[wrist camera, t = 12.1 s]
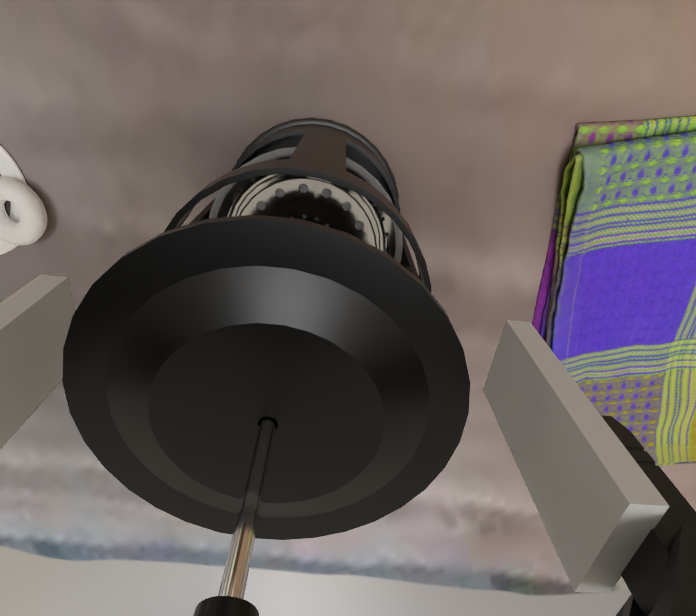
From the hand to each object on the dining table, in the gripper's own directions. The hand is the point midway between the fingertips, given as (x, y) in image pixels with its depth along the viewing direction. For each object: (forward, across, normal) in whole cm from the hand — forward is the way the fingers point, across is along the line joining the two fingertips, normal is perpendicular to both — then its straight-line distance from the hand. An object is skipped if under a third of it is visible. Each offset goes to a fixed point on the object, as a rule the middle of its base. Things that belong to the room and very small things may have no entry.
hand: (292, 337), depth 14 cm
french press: (+13, 0, 0) cm, 13 cm away
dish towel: (+13, +23, -4) cm, 27 cm away
